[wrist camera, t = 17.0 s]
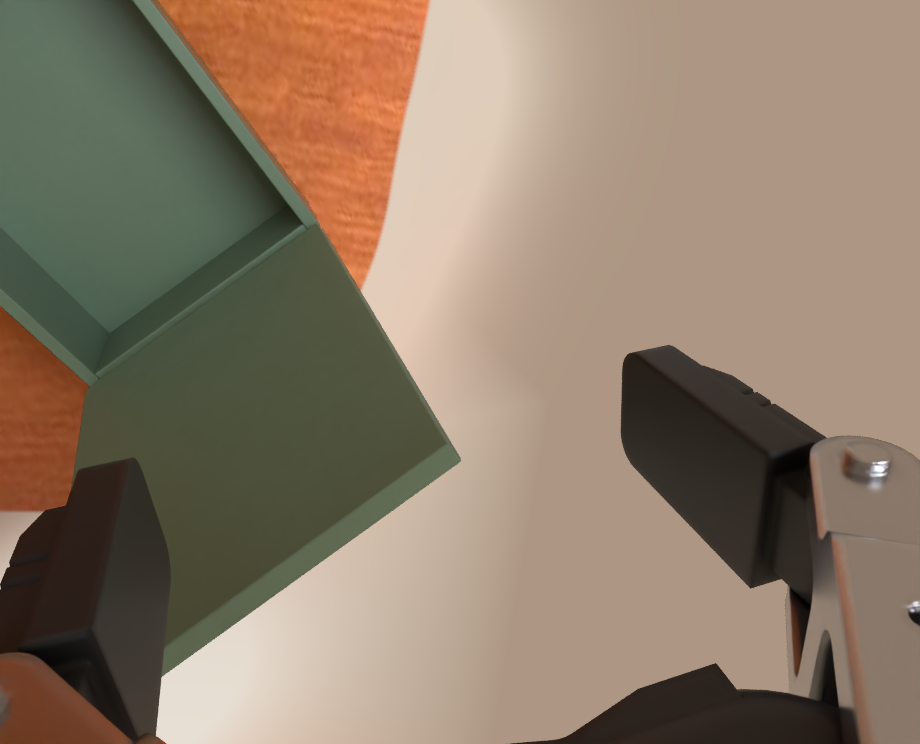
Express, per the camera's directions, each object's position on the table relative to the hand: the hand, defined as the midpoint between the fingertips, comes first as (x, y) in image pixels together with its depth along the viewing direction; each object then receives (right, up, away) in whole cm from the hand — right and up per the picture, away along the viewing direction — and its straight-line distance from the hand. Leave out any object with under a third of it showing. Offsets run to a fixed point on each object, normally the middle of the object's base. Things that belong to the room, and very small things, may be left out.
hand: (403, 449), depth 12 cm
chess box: (-17, +13, +23) cm, 31 cm away
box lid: (-8, 0, +14) cm, 16 cm away
